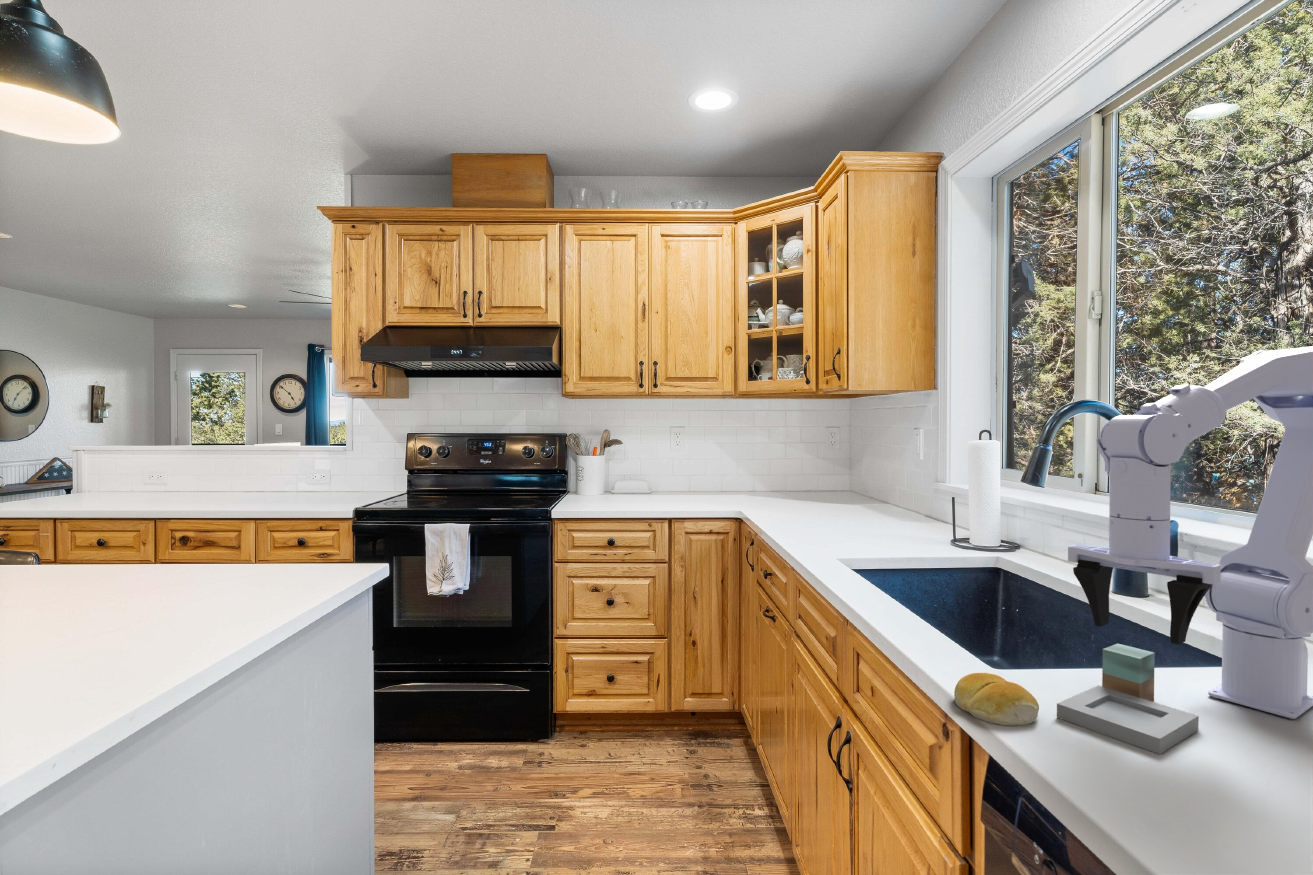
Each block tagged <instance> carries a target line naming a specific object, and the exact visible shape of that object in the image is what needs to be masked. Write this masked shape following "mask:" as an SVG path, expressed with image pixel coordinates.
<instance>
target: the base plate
mask: <svg viewBox="0 0 1313 875" xmlns="http://www.w3.org/2000/svg"><path fill="white" fill-rule="evenodd" d="M1199 717H1200V716H1199V715H1197V714H1195V713H1191V712H1187V711H1184V710H1181V709H1178V708H1174V707H1171V706H1167V705H1164V704H1161V703H1158V702H1155V701H1153V702H1152V701H1148V700H1145V699H1142V698H1138V697H1135V696H1132V695H1129V694H1125V693H1122V692H1119V691H1115V690H1112V689H1109V688H1106V687H1102V685H1096V686H1093V687H1091V688H1089V689H1087V690H1085V691H1082V692H1080V693H1078V694H1075V695H1073V696H1071V697H1069V698H1067V699H1064V700H1062V701H1061V700H1060V702H1057V703H1056V718H1058V719H1060V720H1064V721H1066V722H1070V723H1071V724H1075V725H1078V726H1080V727H1083V728H1085V729H1088V730H1091V731H1094V732H1096V733H1099V734H1101V735H1102V734H1103V735H1105V736H1107V737H1111V738H1113V739H1117V740H1119V741H1122V742H1125V743H1127V744H1129V745H1133V746H1136V747H1139V748H1141V749H1144V750H1146V751H1150V752H1153V753H1155V754H1159V755H1160V754H1163V753H1164V752H1166V751H1168V749H1170V748H1172V747H1174V746H1175V745H1177V744H1178V743H1180V742H1181V741H1183V740H1185V739H1187V738H1188V737H1190V736H1192V735H1193V734H1195V733H1196V732H1198V731H1199V724H1200V723H1199Z"/></svg>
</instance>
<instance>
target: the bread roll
mask: <svg viewBox="0 0 1313 875" xmlns="http://www.w3.org/2000/svg"><path fill="white" fill-rule="evenodd" d="M953 694H954V701H955V703H956V705H957V706H958V708H960V709H961V710H963V711H965V712H967V713H970V714H971V715H972V716H973V717H975V718H977V719H979V720H981V721H984V722H986V723H991V724H995V725H1000V726H1024V725H1029V724H1033V723H1034V722H1035V721H1037V719H1038V715H1039V710H1040V704H1039V703H1038V701H1037V699H1036V698H1035V696H1034V695H1033V694H1032V693H1031V692H1030V691H1028V690H1027V689H1026V688H1025V687H1023V686H1022V685H1020V684H1018V683H1015V682H1013V681H1012V682H1011V681H1007V679H1005V678H1004V677H1002V676H1000V675H997V674H994V673H990V672H974V673H969V674H966V675H964V676H963V677H961V678H960V679H959V680H958V682H957V684H955V688H954V693H953Z"/></svg>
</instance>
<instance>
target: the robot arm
mask: <svg viewBox="0 0 1313 875" xmlns="http://www.w3.org/2000/svg"><path fill="white" fill-rule="evenodd" d="M1169 392H1170V394H1169V395H1167V396H1165V397H1163V398H1161V399H1159V400H1157V401H1155V402H1149V403H1145V404H1143V405H1141V406H1140V407H1139V408H1140V410H1138V411H1137V412H1135V413H1134V414H1130V415H1129V414H1127V415H1125V414H1124V415H1122V414H1121V415H1117V416H1114V417H1112V418H1111V419H1110V420H1108V421H1107V422H1106V424H1104V425H1103V427H1102V429H1101V431H1100V434H1099V437H1096V439H1095V440H1096V448H1097V450H1098V452H1099V455H1101V457H1102V458H1103V461H1104V471H1105V472H1106V474H1107V476H1108V477H1109V511H1108V512H1109V514H1108V516H1109V518H1108V519H1109V520H1108V521H1109V522H1108V523H1109V524H1108V525H1109V526H1108V531H1109V532H1108V534H1109V535H1108V537H1109V538H1108V545H1109V546H1108V547H1100V546H1099V547H1098V546H1089V545H1082V544H1081V545H1079V544H1073V545H1069V546H1068V547H1067V562H1068V563H1069V562H1071V563H1076V566H1074V567H1073V568H1072V571H1073V574H1074V576H1075V578H1076V579H1077V581H1078V582H1079V585H1080V587H1081V588H1082V590H1083V592H1084V594H1085V597H1086V599H1087V601H1088V605H1089V607H1090V610H1091V615H1092V619H1093V624H1094V626H1096V627H1100V628H1102V627H1104V626H1107V625H1109V621H1110V592H1111V591H1110V588H1111V581H1112V576H1113V571H1114V568H1115V569H1120V570H1127V571H1134V572H1138V573H1139V572H1140V573H1147V574H1153V575H1159V576H1165V577H1170V578H1171V577H1173V578H1176V579H1173V580H1170V581H1167V582H1166V587H1167V591H1168V598H1169V604H1170V630H1169V638H1170V644H1175V645H1181V644H1183V643H1185V642H1186V641H1187V640H1186V638H1187V635H1188V630H1189V628H1190V625H1191V622H1192V619H1193V617H1194V615H1195V613H1196V610H1197V608H1198V606H1199V605H1200V603H1201V602H1202V600H1203V598H1205V602H1206V605H1207V606H1208V608H1209V609H1210V610H1211V611H1212V612H1213V613H1214V614H1216V615H1215V617H1216V618H1215V620H1216V621H1217V622H1220V623H1221V624H1222V633H1221V634H1222V637H1221V638H1222V642H1221V645H1222V646H1221V650H1222V651H1221V684H1219V685H1218V686H1216V687H1213V688H1212V689H1210V690H1209V691H1208V693H1207V695H1208V696H1209V697H1213V698H1217V699H1220V700H1223V701H1226V702H1231V703H1233V704H1238V705H1241V706H1245V707H1247V708H1248V707H1249V708H1252V709H1255V710H1259V711H1263V712H1267V713H1271V714H1274V715H1277V716H1280V717H1284V718H1287V719H1293V720H1295V719H1297V718H1298V717H1300V716H1301V715H1303V714H1304V713H1306V711H1307V710H1309V709H1310V708H1312V707H1313V695H1310V694H1308V674H1309V673H1308V667H1309V666H1308V664H1309V663H1308V662H1309V661H1308V660H1309V655H1308V654H1309V652H1308V647H1307V644H1306V641H1305V640H1304V638H1309V637H1310V638H1311V637H1312V636H1311V634H1313V564H1311V563H1310V561H1308V559H1307V558H1306V557H1307V554H1308V550H1309V548H1310V545H1311V541H1312V537H1313V346H1304V347H1295V348H1286V349H1275V350H1270V349H1267V350H1265V349H1264V350H1257V351H1255V352H1253V353H1251V354H1250V355H1247V356H1244V357H1242V358H1241V359H1240V362H1239V364H1238V365H1237V366H1236V367H1233V368H1232V369H1231V370H1229V371H1227V372H1226V373H1224V374H1222V375H1221V376H1219V377H1218V378H1216V379H1214V380H1213V381H1212V382H1211V383H1208V384H1207V385H1206V386H1201V385H1190V384H1181V385H1175V386H1174V387H1172V388H1170V389H1169ZM1252 399H1253V400H1254V401H1255V402H1256V403H1257V405H1258V406H1259V407H1260V408H1261V409H1262V411H1263V412H1264V413H1265V414H1266V415H1267V416H1268V417H1269V418H1270V419H1271V420H1273V421H1276V422H1278V423H1281V424H1282V425H1283V427H1284V433H1283V436H1282V439H1281V442H1280V443H1279V444H1280V445H1279V447H1278V451H1277V453H1276V456H1275V459H1274V461H1273V466H1272V468H1271V471H1270V473H1269V474H1270V475H1269V478H1268V481H1267V484H1266V486H1265V490H1264V492H1263V495H1262V499H1261V500H1260V501H1261V502H1260V505H1259V508H1258V510H1257V513H1256V516H1255V519H1254V522H1253V524H1252V529H1251V531H1250V535H1249V537H1248V541H1247V542H1246V544H1244V545H1242V546H1240V547H1238V548H1235V549H1233V550H1229V551H1228V552H1226V553H1224V554H1222V555H1221V557H1220V560H1219V563H1211V562H1204V561H1201V560H1200V561H1199V560H1194V559H1191V558H1189V559H1188V558H1183V557H1178V556H1174V555H1171V478H1172V477H1171V472H1172V471H1171V470H1172V469H1171V468H1172V466H1171V465H1172V463H1177V462H1178V461H1179V460H1180V459H1181V458H1182V457H1183V454H1184V452H1185V450H1186V447H1187V446H1188V445H1189V444H1191V442H1193V441H1194V440H1196V439H1198V438H1200V437H1201V436H1204V435H1205V434H1208V433H1209V432H1210V431H1211V432H1212V431H1213V430H1214V429H1216V428H1218V427H1220V426H1221V425H1222V424H1223V422H1224V421H1225V419H1226V414H1227V411H1228V410H1230V409H1233V408H1235V407H1237V406H1239V405H1242V404H1243V403H1246V402H1248V401H1250V400H1252Z"/></svg>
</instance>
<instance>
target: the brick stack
mask: <svg viewBox="0 0 1313 875" xmlns="http://www.w3.org/2000/svg"><path fill="white" fill-rule="evenodd" d="M1155 654H1156V653H1155V652H1153V651H1149V650H1145V649H1141V648H1137V647H1133V646H1130V645H1125V644H1120V643H1116V644H1113V645H1110V646H1107V647H1105V648H1102V665H1101V666H1102V667H1101V668H1102V671H1101V672H1102V673H1101V674H1102V675H1101V676H1102V677H1101V680H1102V681H1101V682H1102V683H1101V684H1102V685H1101V686H1102V687H1106V688H1109V689H1112V690H1115V691H1119V692H1122V693H1125V694H1129V695H1132V696H1135V697H1138V698H1142V699H1145V700H1148V701H1152V702H1155Z"/></svg>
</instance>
